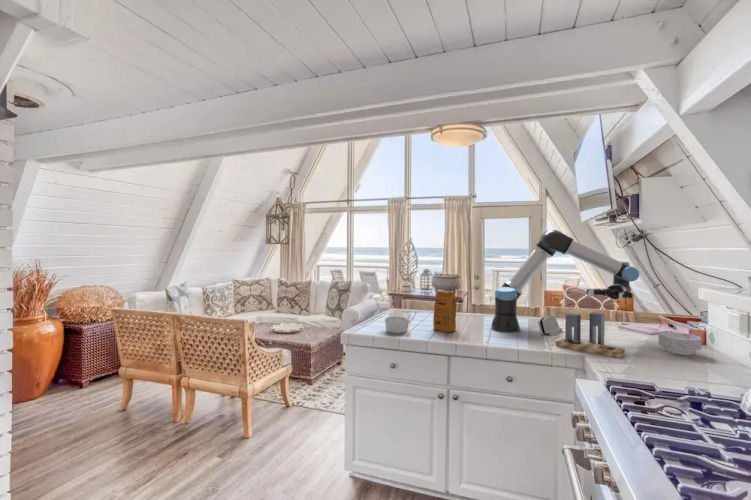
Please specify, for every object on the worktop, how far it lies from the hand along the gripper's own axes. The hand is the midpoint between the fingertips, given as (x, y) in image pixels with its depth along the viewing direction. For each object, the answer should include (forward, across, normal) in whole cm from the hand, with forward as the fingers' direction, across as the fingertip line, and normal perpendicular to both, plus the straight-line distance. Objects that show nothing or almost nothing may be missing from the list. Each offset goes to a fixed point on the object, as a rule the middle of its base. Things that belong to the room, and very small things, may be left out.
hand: (603, 295), depth 187 cm
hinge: (-3, +27, -24) cm, 36 cm away
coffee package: (+37, +69, -23) cm, 82 cm away
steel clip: (+10, 0, -24) cm, 25 cm away
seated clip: (+21, +7, -24) cm, 32 cm away
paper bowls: (-5, -29, -24) cm, 38 cm away
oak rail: (+21, 0, -24) cm, 31 cm away
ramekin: (+59, +85, -23) cm, 106 cm away
